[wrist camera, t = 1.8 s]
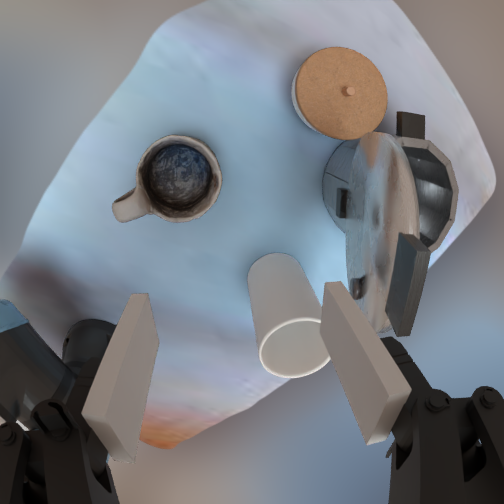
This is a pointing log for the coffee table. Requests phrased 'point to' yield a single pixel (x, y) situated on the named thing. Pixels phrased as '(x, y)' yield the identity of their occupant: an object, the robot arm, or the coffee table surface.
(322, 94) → the lidded jar
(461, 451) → the robot arm
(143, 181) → the mug
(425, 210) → the pot
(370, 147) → the lid
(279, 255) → the cup
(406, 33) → the coffee table surface
